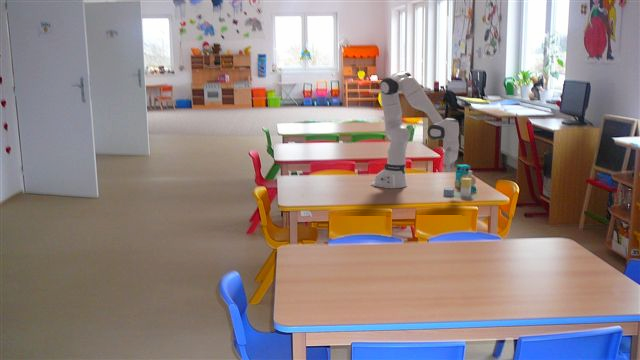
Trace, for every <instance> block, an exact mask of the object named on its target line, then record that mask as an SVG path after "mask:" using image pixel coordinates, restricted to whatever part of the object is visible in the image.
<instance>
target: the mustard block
mask: <svg viewBox="0 0 640 360" xmlns="http://www.w3.org/2000/svg"><path fill="white" fill-rule="evenodd" d="M471 181H472V178H462V179H461V188H470V187H471Z"/></svg>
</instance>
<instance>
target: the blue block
mask: <svg viewBox="0 0 640 360" xmlns="http://www.w3.org/2000/svg"><path fill="white" fill-rule="evenodd" d="M454 194H455V188H450V187H445V188H444V189H443V197H452V196H453V195H454Z"/></svg>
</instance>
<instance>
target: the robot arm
mask: <svg viewBox="0 0 640 360" xmlns="http://www.w3.org/2000/svg"><path fill="white" fill-rule="evenodd" d="M379 88H380V100H381V107H382V111H383V116H384V135H385V136H386V138H387V139H388V140H390V144H389V148H388V150H387V162H386V163H385V164H384V165H383V168H384V169H382V170H381V171H379V172H378V173H377V174H376V175H375V178H374V181H372V182H371V183H370V186H372V187H373V186H375V187H378V188H379V187H380V188H386V189H399V188H401V189H402V188H407V185H408V184H407V182H406V181H407V180H406V172H407V168H406V153H407V146H408V143H409V140H410V139H411V133H410V132H411V131H410V130H409V129H408V128H407V127H406V126H404V125H403V124H402V123H403V121H402V120H403V119H402V116H403V110H402V106H401V105H402V104H401V102H400V97H399V93H402V94H403V95H404V97H405V99H406V101H407V102H408V104H409V105H410V106H411V107H412V108H414V109H415V110H419V111H422V112H423V113H425V114H426V115H427V116H428V117H429V119H430V121H431V122H432V124H431V125H429V126H428V128H427V132H426V133H427V135H428V136H427V137H429V139H431V140H433V141H439V140H442V150H444V152H443V156H442V157H443V160H442V161H443V162H442V164H443V165H445V168H446V171H445V172H450V171H451V169H454V168H455V162H456V161H457V160H458V157H459V148H460V143H459V135H460V125H459V121H458V120H457V118H456V119H455V118H452V117H446V118H445V119H444V117H443V116H442V115H441V113H440V112H439V110H438V109H437V107H436V106H435V104H433V102H432V101H431V99H430V98H429V97H428V96H427V94H426V92H425V91H424V88H423V87H422V86H421V84H420V83H419V82H418V81H417V79H416V78H414V77H413V76H412V74H411V73H410V72H408V71H400V72H395V73H393V74H392V75H389V76H387V77H385V78H383V79H382V80H381V81H380V84H379Z"/></svg>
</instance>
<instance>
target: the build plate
mask: <svg viewBox="0 0 640 360" xmlns="http://www.w3.org/2000/svg"><path fill="white" fill-rule="evenodd" d="M477 196H479V193H478V194H477V193H471V195H470V196H469V197H467V196H460V192H458V191H457V192H454V195H453V196H452V197H453V198H461V199H471V200H474V199H476V198H477Z"/></svg>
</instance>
